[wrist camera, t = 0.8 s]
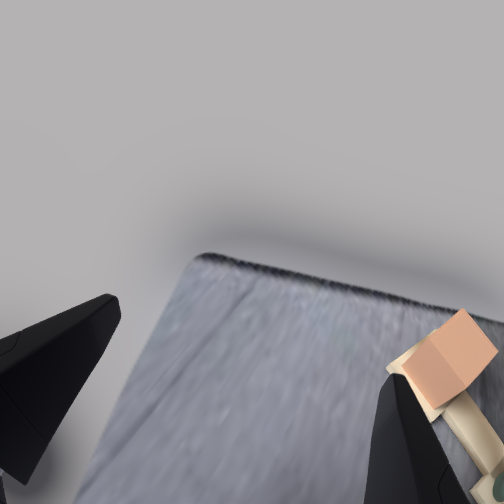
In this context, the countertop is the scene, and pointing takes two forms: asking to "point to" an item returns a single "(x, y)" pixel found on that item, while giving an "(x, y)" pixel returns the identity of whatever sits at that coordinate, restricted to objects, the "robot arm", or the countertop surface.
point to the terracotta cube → (449, 359)
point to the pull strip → (467, 434)
